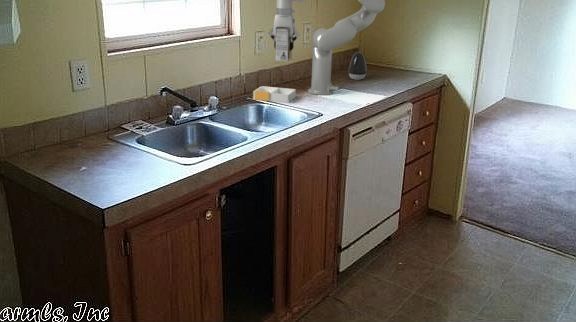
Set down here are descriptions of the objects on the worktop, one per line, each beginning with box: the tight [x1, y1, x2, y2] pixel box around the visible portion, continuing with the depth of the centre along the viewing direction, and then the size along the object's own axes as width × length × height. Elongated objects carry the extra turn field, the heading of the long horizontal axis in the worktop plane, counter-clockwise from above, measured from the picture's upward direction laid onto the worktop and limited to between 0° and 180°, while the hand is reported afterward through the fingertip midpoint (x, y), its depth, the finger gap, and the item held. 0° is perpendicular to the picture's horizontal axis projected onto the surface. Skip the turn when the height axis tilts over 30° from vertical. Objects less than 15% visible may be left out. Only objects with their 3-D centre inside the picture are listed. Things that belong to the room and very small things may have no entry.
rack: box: [252, 85, 297, 104], centre depth 259 cm, size 18×13×4 cm
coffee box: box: [275, 27, 293, 62], centre depth 263 cm, size 9×6×16 cm
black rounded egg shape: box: [347, 51, 367, 81], centre depth 303 cm, size 10×10×15 cm
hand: (283, 49), depth 265 cm, fingers closed on coffee box, 6 cm apart
